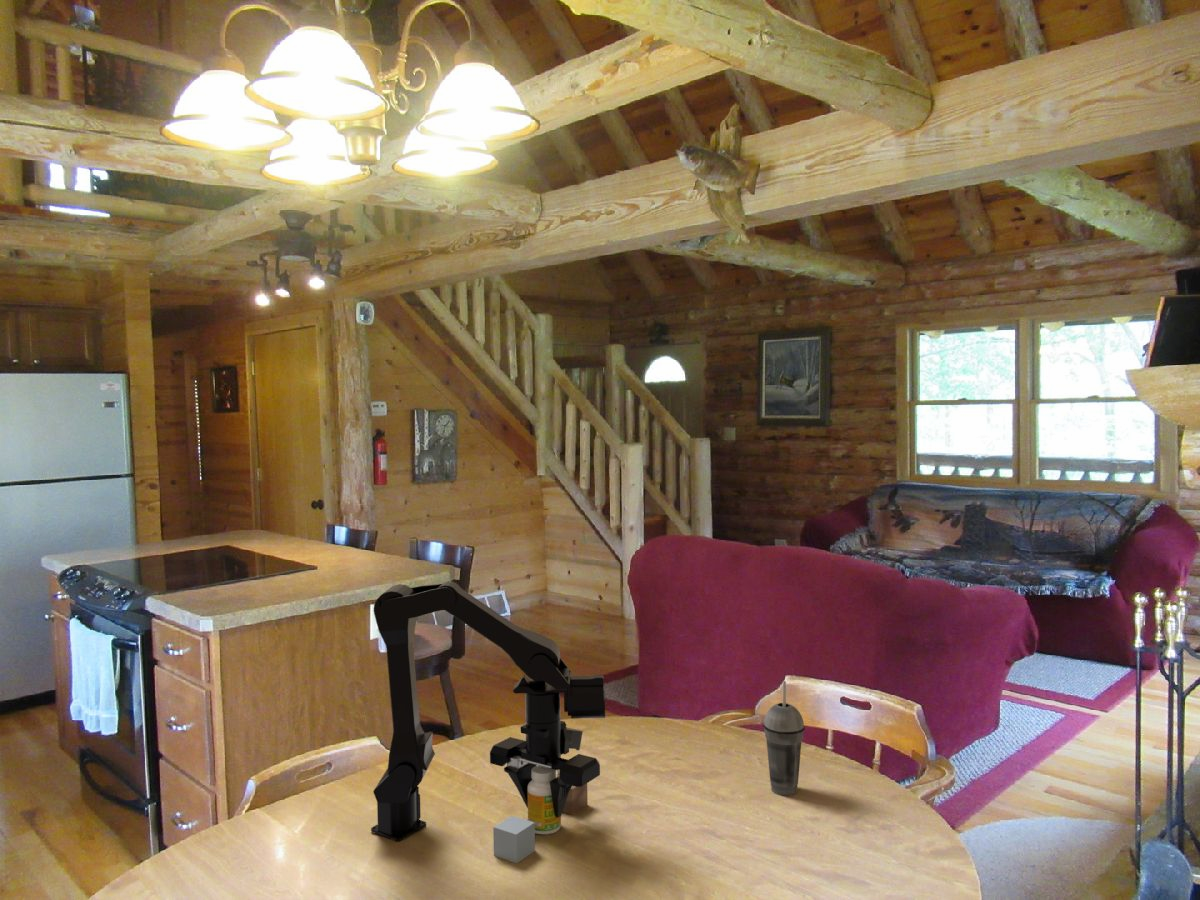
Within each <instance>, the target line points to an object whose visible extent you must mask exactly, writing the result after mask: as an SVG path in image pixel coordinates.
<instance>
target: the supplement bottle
mask: <svg viewBox="0 0 1200 900" xmlns="http://www.w3.org/2000/svg"><path fill="white" fill-rule="evenodd" d="M531 777H532V780H531V781H530V782H529V784H528V808H527V820H528V821H531V822H534V823H535V835H545V836H546V835H552V834H554V833H556V832H558V831H559V830H560V829H561V826H562V815H561V816H560V817H558V818H557V817H556V816H555V813H554V808H553V801H552V795H551V788H550V781H552V780H553V779H555V778H557V770H554V769H550V768H547V767H543V766H539V765H537V766H535V767H533V768H532V771H531Z"/></svg>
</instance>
